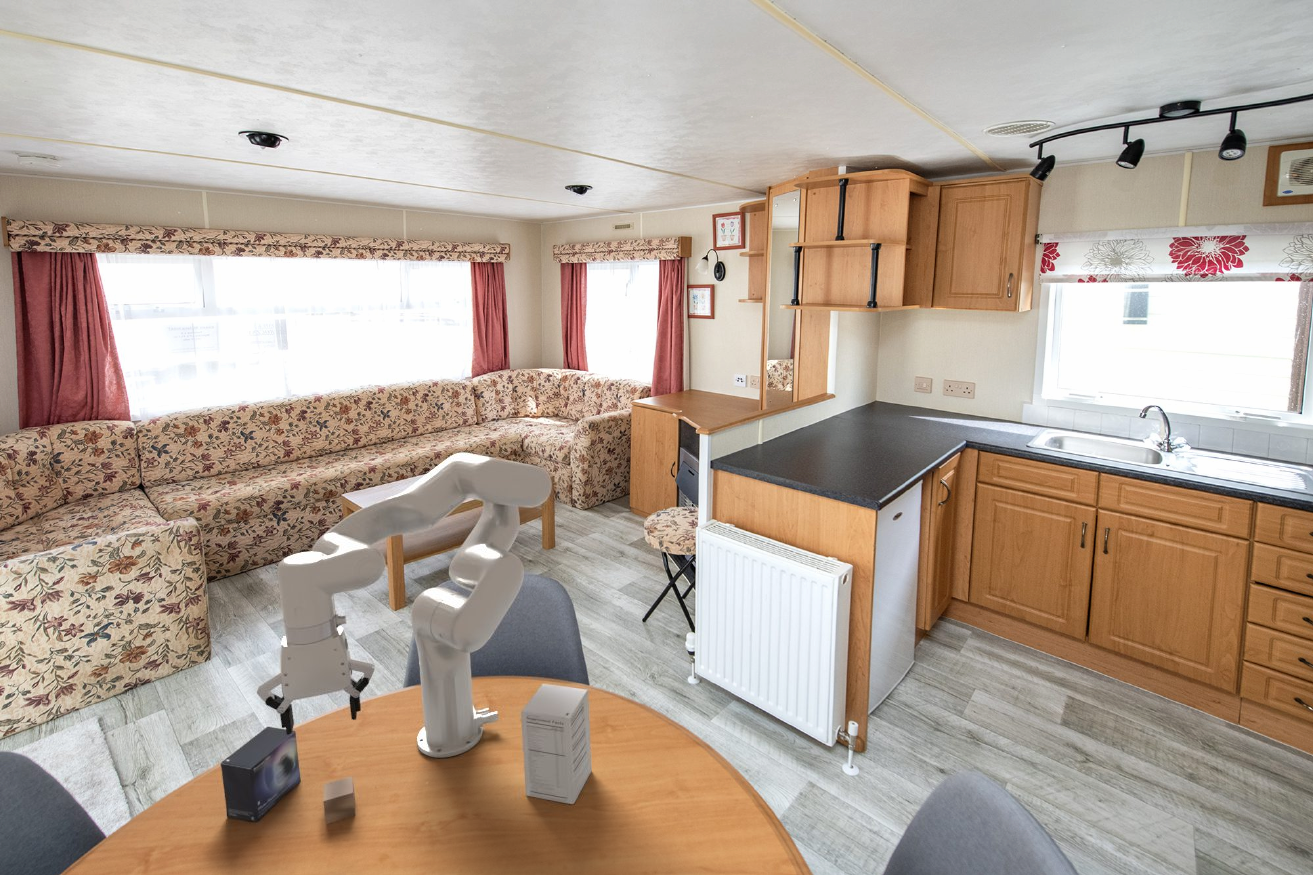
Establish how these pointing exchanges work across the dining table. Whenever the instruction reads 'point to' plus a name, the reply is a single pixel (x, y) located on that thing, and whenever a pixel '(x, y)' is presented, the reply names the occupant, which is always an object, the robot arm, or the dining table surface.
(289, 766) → the small box
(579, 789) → the supplement box
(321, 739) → the dining table surface
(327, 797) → the brown wooden cube
